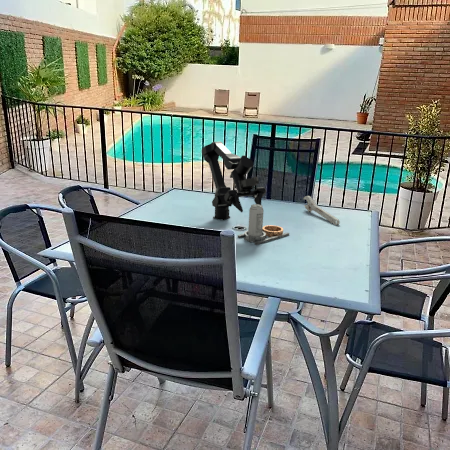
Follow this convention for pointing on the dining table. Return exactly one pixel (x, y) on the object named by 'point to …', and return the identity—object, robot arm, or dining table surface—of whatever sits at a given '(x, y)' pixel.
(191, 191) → the dining table surface
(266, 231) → the socket rail
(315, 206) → the wrench
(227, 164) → the robot arm
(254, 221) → the energy drink can
